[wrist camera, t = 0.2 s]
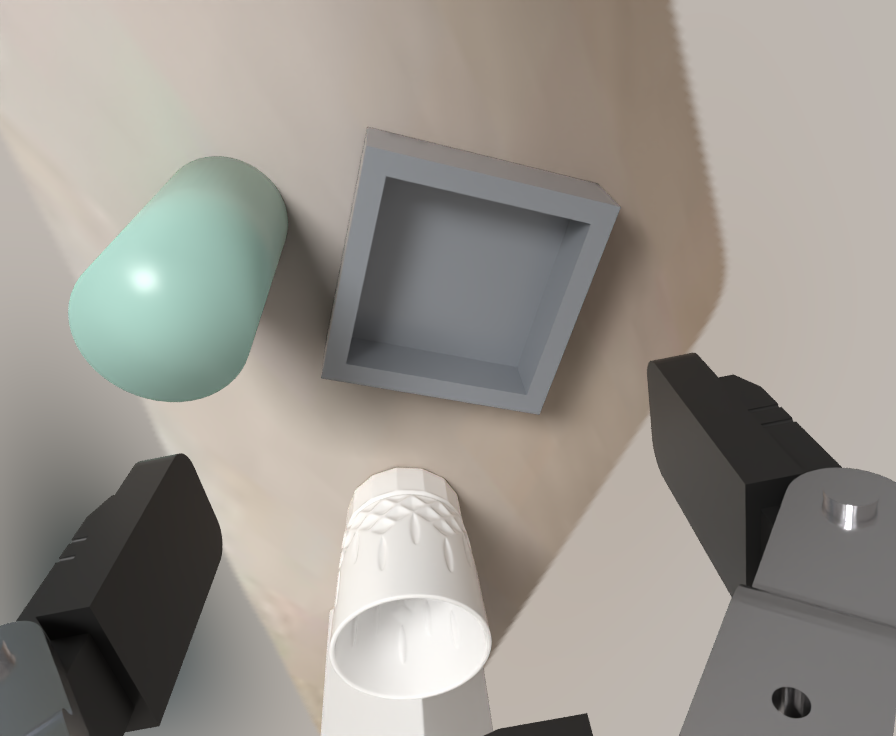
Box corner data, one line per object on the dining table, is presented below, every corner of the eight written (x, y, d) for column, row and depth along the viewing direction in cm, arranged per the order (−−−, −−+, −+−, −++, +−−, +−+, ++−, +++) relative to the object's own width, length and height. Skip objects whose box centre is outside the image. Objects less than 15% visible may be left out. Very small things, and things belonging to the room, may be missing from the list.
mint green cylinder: (165, 143, 29) (66, 230, 20) (296, 172, 31) (260, 268, 21) (159, 261, 32) (69, 387, 23) (279, 284, 33) (241, 413, 24)
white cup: (493, 488, 41) (523, 626, 33) (424, 570, 44) (436, 715, 36) (380, 437, 39) (381, 574, 30) (315, 528, 42) (300, 675, 33)
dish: (367, 126, 30) (366, 145, 27) (597, 183, 32) (620, 206, 29) (325, 342, 35) (321, 378, 32) (526, 378, 37) (539, 414, 34)
